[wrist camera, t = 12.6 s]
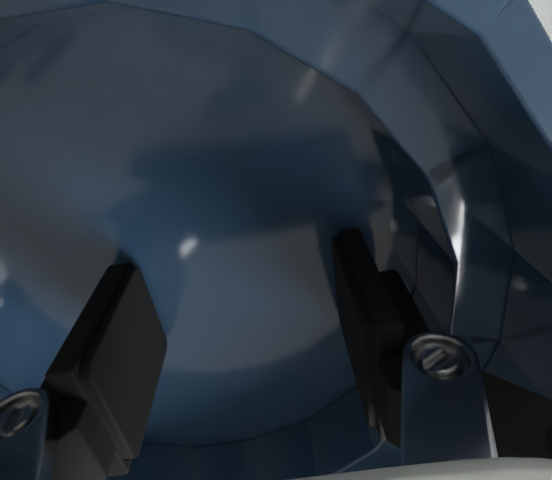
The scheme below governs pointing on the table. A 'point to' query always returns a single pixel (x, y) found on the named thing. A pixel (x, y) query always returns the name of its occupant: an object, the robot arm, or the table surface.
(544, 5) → the table surface
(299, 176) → the basin
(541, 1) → the table surface
